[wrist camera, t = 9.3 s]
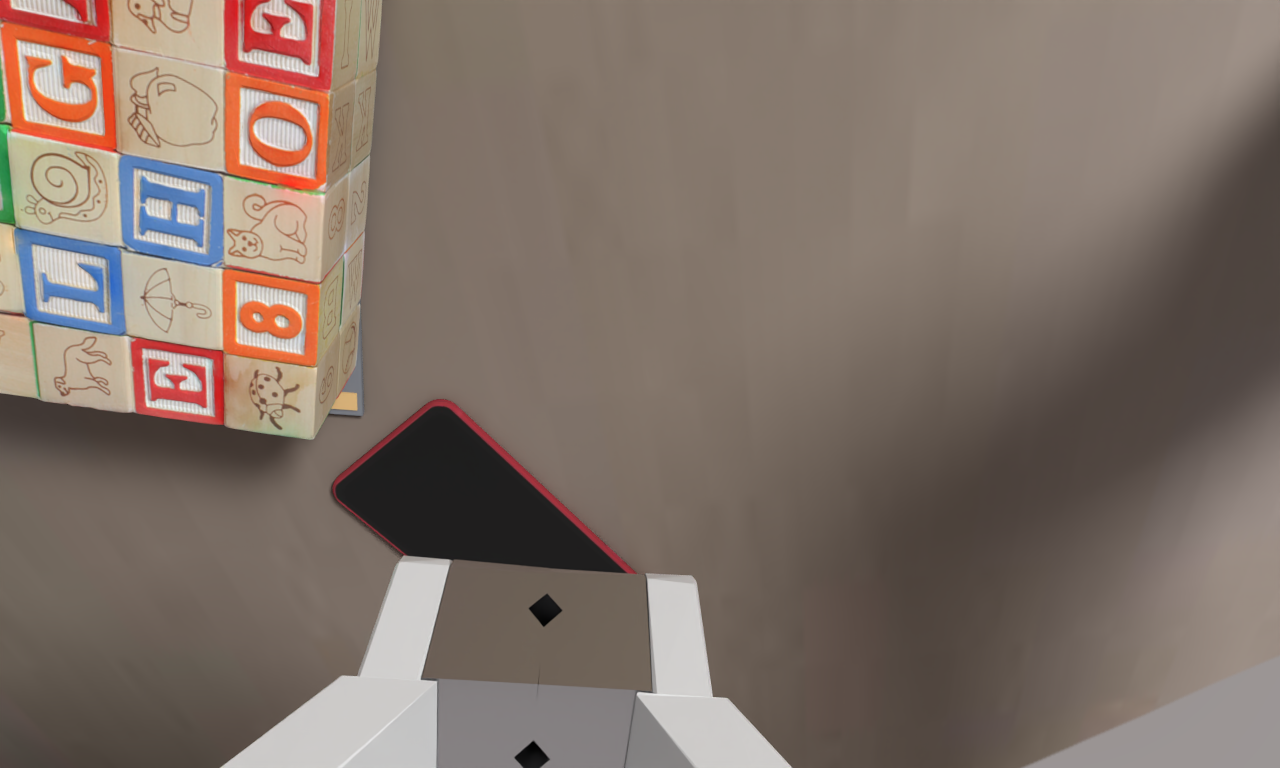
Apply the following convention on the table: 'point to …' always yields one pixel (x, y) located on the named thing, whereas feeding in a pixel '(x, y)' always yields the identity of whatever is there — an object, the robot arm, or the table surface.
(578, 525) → the smartphone
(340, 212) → the stack of blocks
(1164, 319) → the table surface
